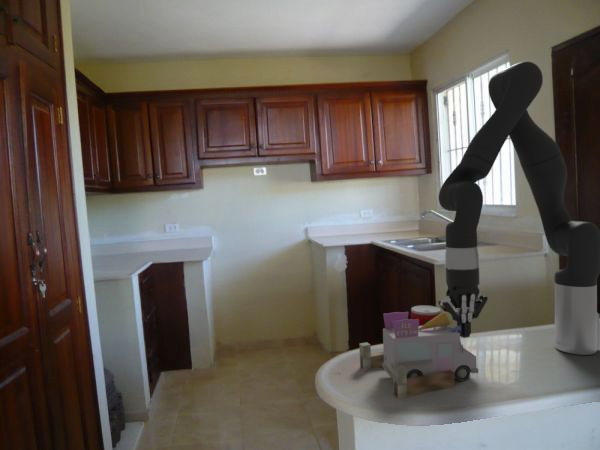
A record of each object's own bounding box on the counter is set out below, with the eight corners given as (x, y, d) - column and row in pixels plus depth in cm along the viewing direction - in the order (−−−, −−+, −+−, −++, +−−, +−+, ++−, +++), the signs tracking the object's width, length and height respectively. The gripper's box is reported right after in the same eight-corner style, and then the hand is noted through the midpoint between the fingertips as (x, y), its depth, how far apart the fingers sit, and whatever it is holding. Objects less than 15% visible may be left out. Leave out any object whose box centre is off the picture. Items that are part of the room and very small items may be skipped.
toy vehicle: (480, 382, 96) (479, 315, 95) (394, 390, 94) (392, 321, 93) (460, 366, 105) (458, 305, 105) (381, 373, 103) (379, 311, 102)
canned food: (428, 356, 113) (427, 314, 112) (405, 347, 120) (404, 308, 119) (448, 349, 117) (447, 309, 116) (425, 342, 124) (424, 303, 123)
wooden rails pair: (410, 358, 112) (409, 335, 111) (455, 386, 95) (455, 359, 94) (360, 367, 107) (359, 343, 107) (398, 398, 90) (397, 369, 90)
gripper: (474, 260, 110) (476, 328, 111) (429, 266, 106) (431, 336, 107) (496, 264, 103) (498, 337, 104) (448, 270, 99) (451, 345, 100)
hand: (464, 336), depth 106 cm, fingers closed
